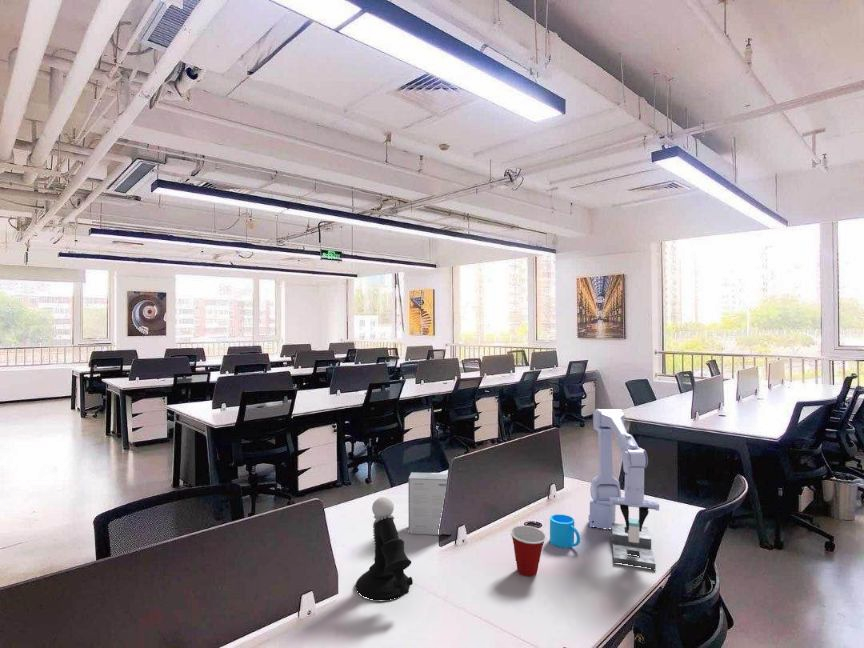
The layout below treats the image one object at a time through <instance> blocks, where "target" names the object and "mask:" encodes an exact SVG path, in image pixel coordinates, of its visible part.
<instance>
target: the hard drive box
mask: <svg viewBox="0 0 864 648" xmlns="http://www.w3.org/2000/svg"><path fill="white" fill-rule="evenodd" d="M447 477H448V472H445V473H444V472H413V471H411V472H410V474H409V476H408V534H410V535H411V534H412V535H433V536H439V535H438V529H439V524H440V518H441V513H442V508H443V502H444V496H445V490H446V483H447Z"/></svg>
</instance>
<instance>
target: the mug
mask: <svg viewBox="0 0 864 648" xmlns="http://www.w3.org/2000/svg"><path fill="white" fill-rule="evenodd" d="M575 537H576V541H575ZM550 542H551V543H552V544H553V545H552V544H551V543H550ZM549 543H550V544H551V545H552V546H554V545H556V546H555V547H557V546H559V547H558V548H561V547H569V548H571V547H570V546H572V547H577V546H579V544H580V543H581V535H580V532H579V530H578V529H577V528H576V526H575V519H574V517H572V516H570V515H566V514H563V513H562V514H561V513H560V514H557V513H556V514H552V515H550V516H549Z"/></svg>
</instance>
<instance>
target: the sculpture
mask: <svg viewBox="0 0 864 648" xmlns="http://www.w3.org/2000/svg"><path fill="white" fill-rule="evenodd" d="M394 508H395V507H394V502H393V501H392V500H391V499H390V498H388V497H379V498H377V499H376V500H374V502H373V503H372V507H371V511H372V514H373V515H374V516H373V519H375V520H374V521H373V524H372V528H373V530H372V531H373V532H372V534H373V535H372V536H373V542H374V558H373V560H374V563H373V564H371V565H370V567H369V569H368V570H367V571H365V572H364V573H362V575H360V576H359V577H358V579H357V580H356V583H355V590H357V591H358V593H360V594H361V595H362V596H364V597H367V598H369V599H373V600H389V601H391V600H390V599H394V598H397V599H399V598H401V597H403V596H405V595H407V594H408V593H409V592H410V588H411V586H412V585H413V577H412V576H410V577H408V575H406V574H405V570H406V569H407V568H409V566H411V564H412V560H411V559H410V558H408V556H407V554H406V553H405V541H404V539H402V538H401V539H400V537H399V532H398V529H397V527H396V524H395V521H394V520H395V517H394V515H393V512H394ZM357 591H356V592H357ZM358 593H357V594H358ZM398 597H399V598H398ZM394 600H395V599H394Z"/></svg>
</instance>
